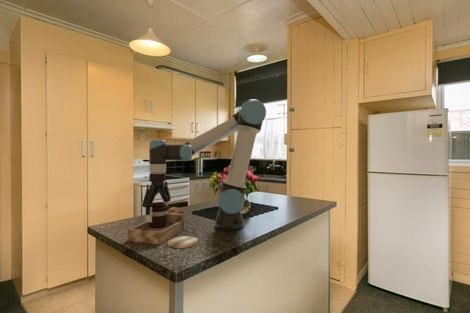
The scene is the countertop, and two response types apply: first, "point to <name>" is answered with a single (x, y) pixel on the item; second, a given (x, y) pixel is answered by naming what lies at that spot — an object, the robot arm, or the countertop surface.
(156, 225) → the coffee cup
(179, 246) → the disc
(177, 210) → the bread roll
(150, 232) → the open wooden box
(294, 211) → the countertop surface
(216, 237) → the countertop surface
